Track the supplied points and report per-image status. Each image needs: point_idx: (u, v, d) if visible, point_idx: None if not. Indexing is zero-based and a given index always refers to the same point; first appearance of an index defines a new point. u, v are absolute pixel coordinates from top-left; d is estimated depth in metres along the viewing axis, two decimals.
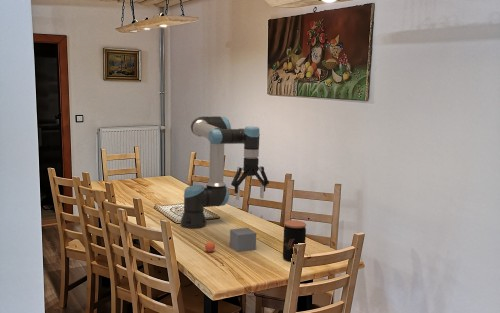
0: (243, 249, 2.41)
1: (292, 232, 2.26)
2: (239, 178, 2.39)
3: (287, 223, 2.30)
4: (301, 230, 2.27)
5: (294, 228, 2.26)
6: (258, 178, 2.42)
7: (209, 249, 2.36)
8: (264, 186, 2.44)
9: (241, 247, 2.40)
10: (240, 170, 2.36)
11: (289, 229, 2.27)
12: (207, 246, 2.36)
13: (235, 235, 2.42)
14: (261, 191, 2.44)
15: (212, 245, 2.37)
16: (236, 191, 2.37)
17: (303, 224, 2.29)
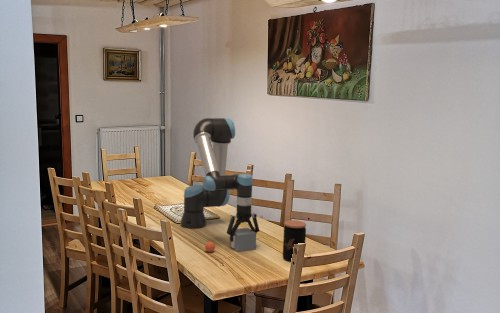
0: (243, 249, 2.41)
1: (292, 232, 2.26)
2: None
3: (287, 223, 2.30)
4: (301, 230, 2.27)
5: (294, 228, 2.26)
6: (249, 225, 2.46)
7: (209, 249, 2.36)
8: None
9: (241, 247, 2.40)
10: (233, 218, 2.41)
11: (289, 229, 2.27)
12: (207, 246, 2.36)
13: (235, 235, 2.42)
14: None
15: (212, 245, 2.37)
16: (231, 239, 2.42)
17: (303, 224, 2.29)
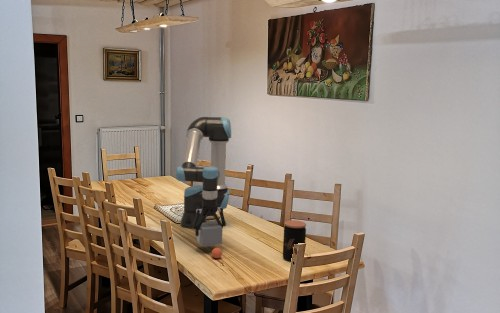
0: (208, 244, 2.35)
1: (292, 232, 2.26)
2: (199, 220, 2.38)
3: (287, 223, 2.30)
4: (301, 230, 2.27)
5: (294, 228, 2.26)
6: (216, 219, 2.40)
7: (213, 249, 2.31)
8: None
9: (206, 242, 2.34)
10: (198, 212, 2.34)
11: (289, 229, 2.27)
12: None
13: (200, 229, 2.36)
14: None
15: None
16: (197, 234, 2.36)
17: (303, 224, 2.29)
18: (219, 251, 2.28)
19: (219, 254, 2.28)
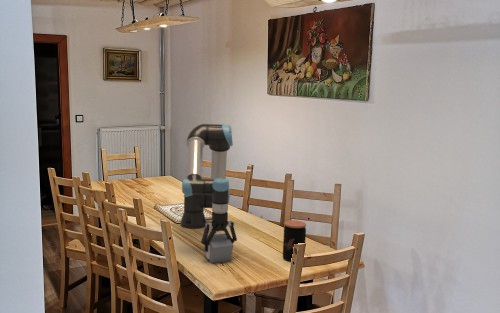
0: (217, 260, 2.24)
1: (292, 232, 2.26)
2: None
3: (287, 223, 2.30)
4: (301, 230, 2.27)
5: (294, 228, 2.26)
6: (226, 234, 2.27)
7: None
8: None
9: (215, 258, 2.23)
10: (208, 227, 2.22)
11: (289, 229, 2.27)
12: None
13: (210, 245, 2.23)
14: None
15: None
16: (206, 249, 2.24)
17: (303, 224, 2.29)
18: None
19: None
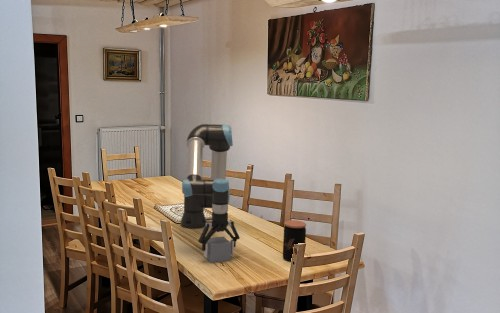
0: (217, 260, 2.25)
1: (292, 232, 2.26)
2: (207, 234, 2.25)
3: (287, 223, 2.30)
4: (301, 230, 2.27)
5: (294, 228, 2.26)
6: (228, 233, 2.28)
7: None
8: (234, 241, 2.30)
9: (215, 258, 2.24)
10: (208, 226, 2.22)
11: (289, 229, 2.27)
12: None
13: (208, 245, 2.25)
14: (231, 246, 2.30)
15: None
16: (204, 248, 2.23)
17: (303, 224, 2.29)
18: None
19: None
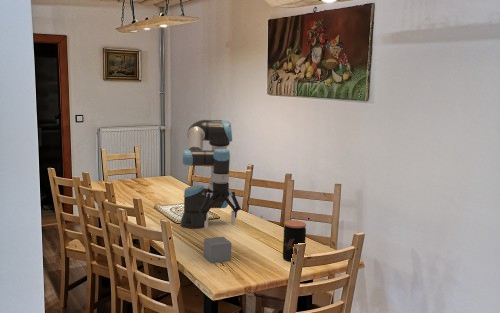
0: (217, 260, 2.25)
1: (292, 232, 2.26)
2: (208, 204, 2.23)
3: (287, 223, 2.30)
4: (301, 230, 2.27)
5: (294, 228, 2.26)
6: (229, 204, 2.26)
7: None
8: (235, 212, 2.28)
9: (215, 258, 2.24)
10: (208, 196, 2.20)
11: (289, 229, 2.27)
12: None
13: (208, 245, 2.25)
14: (232, 217, 2.28)
15: None
16: (204, 218, 2.21)
17: (303, 224, 2.29)
18: None
19: None
